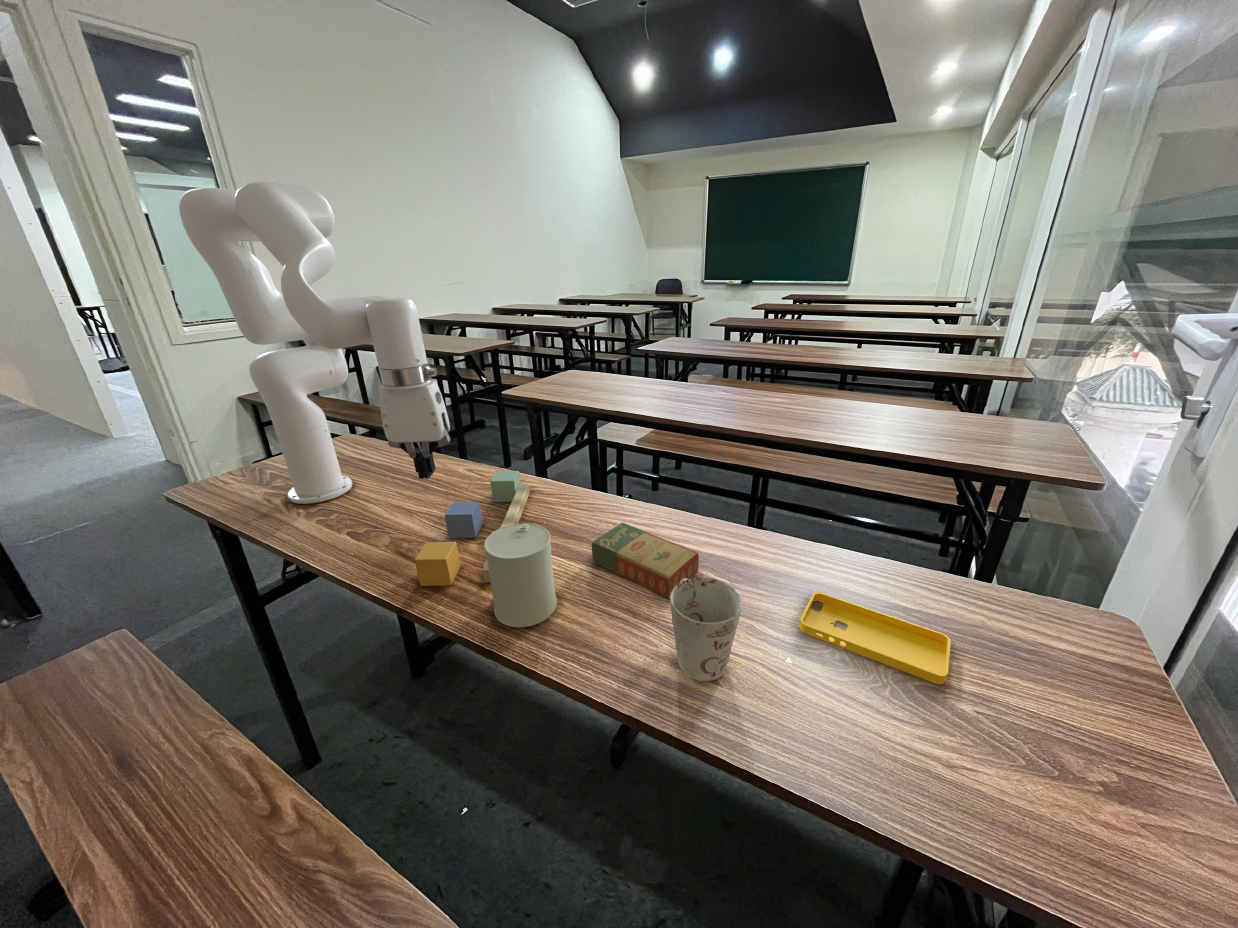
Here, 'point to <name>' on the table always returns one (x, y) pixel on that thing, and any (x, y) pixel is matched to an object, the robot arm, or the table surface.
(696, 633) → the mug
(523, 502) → the wooden bar
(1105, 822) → the table surface
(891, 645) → the phone case
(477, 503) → the block mid
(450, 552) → the block near
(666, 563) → the carton
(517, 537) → the can
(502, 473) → the block far
